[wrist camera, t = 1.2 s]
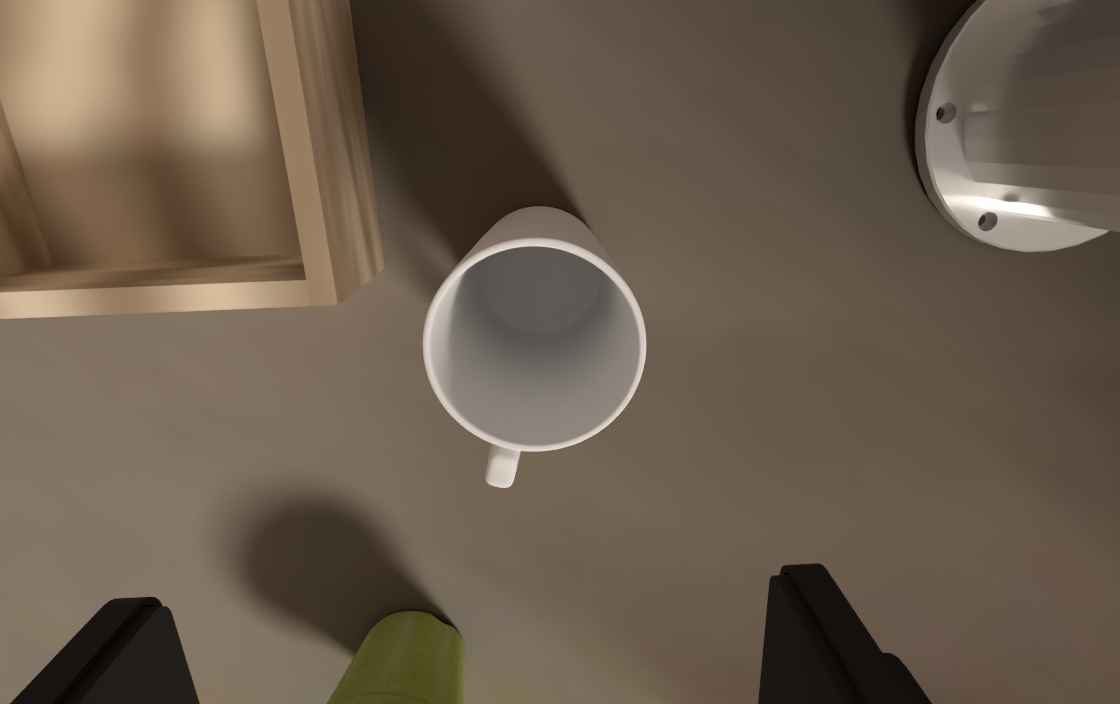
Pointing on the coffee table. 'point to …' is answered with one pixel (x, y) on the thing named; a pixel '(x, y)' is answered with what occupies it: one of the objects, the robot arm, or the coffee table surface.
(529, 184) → the coffee table surface
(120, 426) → the coffee table surface
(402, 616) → the plant pot
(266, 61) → the open wooden crate
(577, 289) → the mug
